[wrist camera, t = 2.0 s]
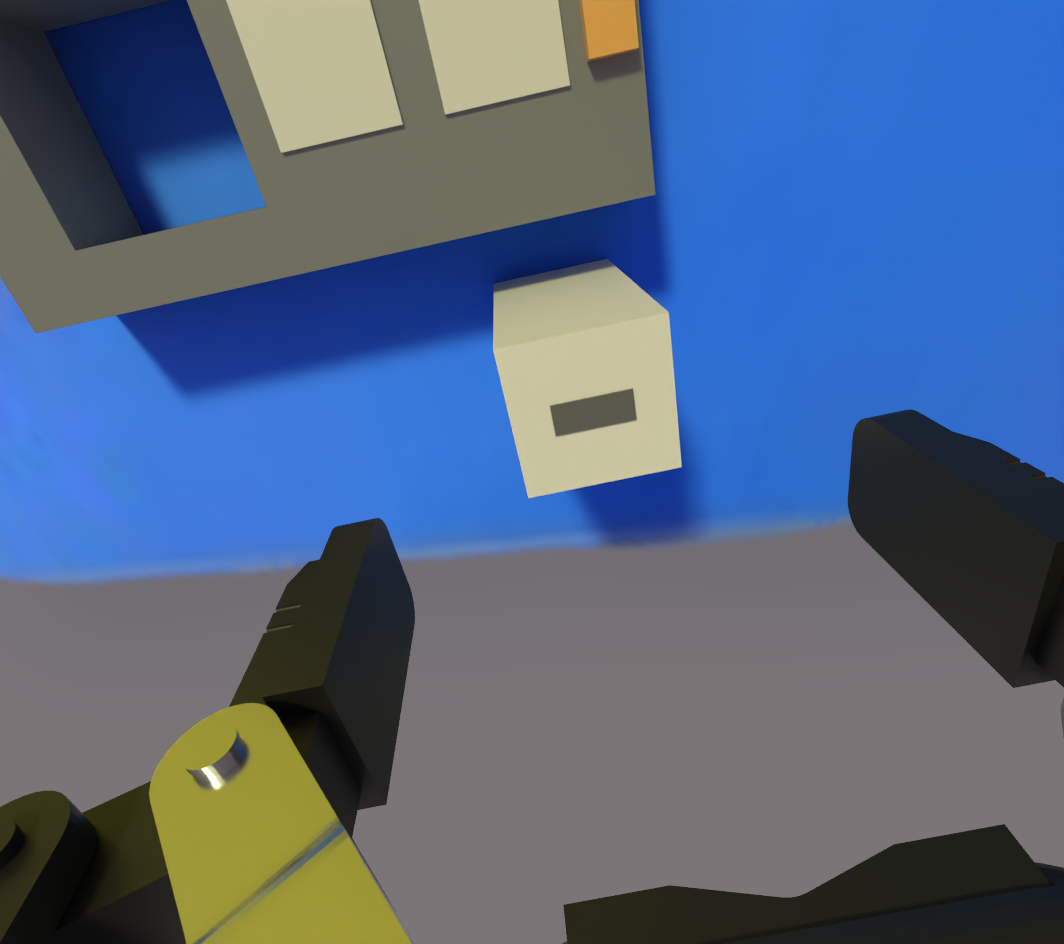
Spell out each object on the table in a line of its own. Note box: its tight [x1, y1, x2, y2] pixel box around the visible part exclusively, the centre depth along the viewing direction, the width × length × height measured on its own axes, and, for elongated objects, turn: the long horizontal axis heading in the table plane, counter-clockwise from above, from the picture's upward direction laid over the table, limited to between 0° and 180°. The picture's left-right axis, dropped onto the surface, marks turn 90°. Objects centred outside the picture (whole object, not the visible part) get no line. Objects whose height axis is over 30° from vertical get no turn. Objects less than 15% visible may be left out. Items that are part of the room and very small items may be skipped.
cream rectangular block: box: [493, 259, 682, 498], centre depth 17 cm, size 4×4×8 cm
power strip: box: [0, 0, 655, 333], centre depth 15 cm, size 18×9×4 cm, turn 101°
